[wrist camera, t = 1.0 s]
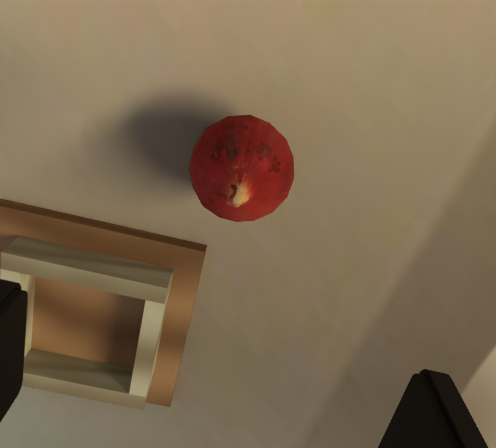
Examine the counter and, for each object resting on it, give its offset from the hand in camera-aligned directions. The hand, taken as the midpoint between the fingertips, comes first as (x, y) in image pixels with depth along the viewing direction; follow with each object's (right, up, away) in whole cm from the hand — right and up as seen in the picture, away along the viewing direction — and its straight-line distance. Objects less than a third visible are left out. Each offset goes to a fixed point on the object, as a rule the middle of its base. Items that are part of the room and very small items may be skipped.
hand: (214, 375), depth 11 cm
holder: (-10, -3, +23) cm, 26 cm away
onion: (+1, +8, +19) cm, 20 cm away
